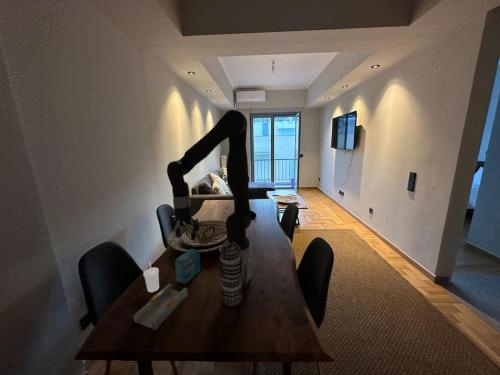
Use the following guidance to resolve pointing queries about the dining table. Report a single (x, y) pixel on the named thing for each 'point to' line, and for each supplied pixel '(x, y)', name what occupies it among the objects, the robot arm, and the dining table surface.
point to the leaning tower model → (231, 273)
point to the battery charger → (253, 215)
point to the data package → (187, 266)
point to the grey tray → (160, 307)
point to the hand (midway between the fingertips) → (186, 238)
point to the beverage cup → (152, 278)
